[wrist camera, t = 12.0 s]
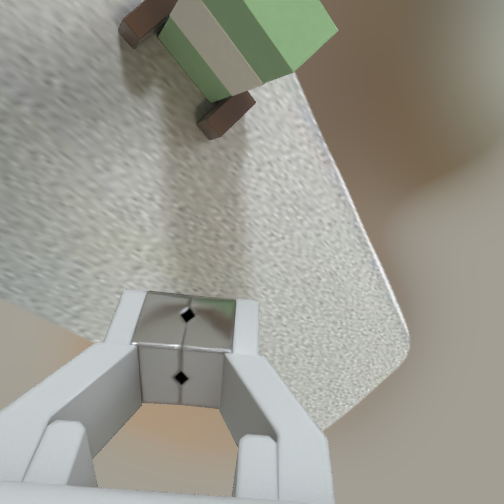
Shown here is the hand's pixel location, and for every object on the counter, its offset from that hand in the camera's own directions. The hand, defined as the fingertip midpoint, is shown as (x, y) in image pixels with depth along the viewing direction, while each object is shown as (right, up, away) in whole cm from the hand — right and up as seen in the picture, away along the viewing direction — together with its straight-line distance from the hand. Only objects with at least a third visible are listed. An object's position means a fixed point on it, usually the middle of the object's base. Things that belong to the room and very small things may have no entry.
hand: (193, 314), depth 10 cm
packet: (-1, +13, +17) cm, 22 cm away
